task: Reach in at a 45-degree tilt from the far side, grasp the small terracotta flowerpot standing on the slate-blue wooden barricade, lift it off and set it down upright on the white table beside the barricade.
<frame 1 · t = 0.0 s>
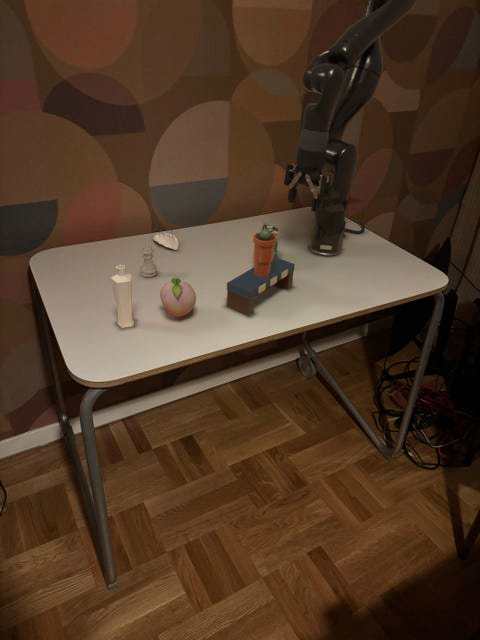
hand: (302, 206, 141), 17 cm above the table, tool pointing down, fingers open, 8 cm apart
rook chess piece: (149, 274, 140), on the table
barricade: (260, 296, 132), on the table
pot: (262, 273, 128), point 7 cm above the table, touching barricade
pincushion: (166, 244, 156), on the table
decorative fruit: (179, 315, 123), on the table
perfume bottle: (125, 324, 119), on the table
wedge shaped tart: (268, 262, 149), on the table
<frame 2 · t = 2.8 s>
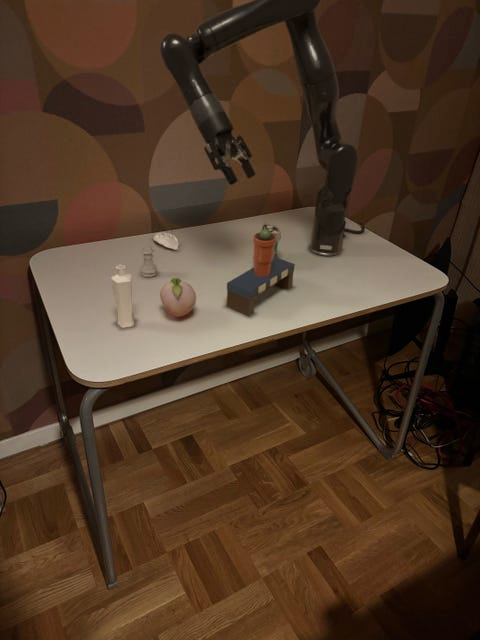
hand: (243, 179, 122), 29 cm above the table, tool tilted 40°, fingers open, 8 cm apart
nothing on the table moved.
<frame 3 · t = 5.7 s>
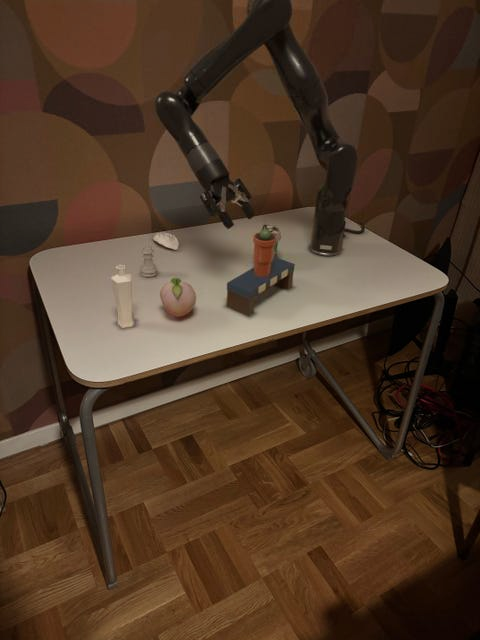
hand: (241, 222, 125), 19 cm above the table, tool tilted 45°, fingers open, 8 cm apart
nothing on the table moved.
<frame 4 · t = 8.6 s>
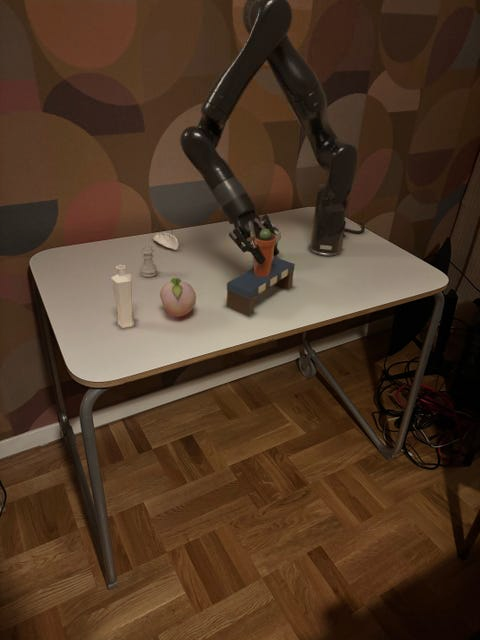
hand: (269, 258, 125), 12 cm above the table, tool tilted 45°, fingers closed on pot, 5 cm apart
pot: (262, 273, 128), point 7 cm above the table, touching barricade, gripper
everything else where it was.
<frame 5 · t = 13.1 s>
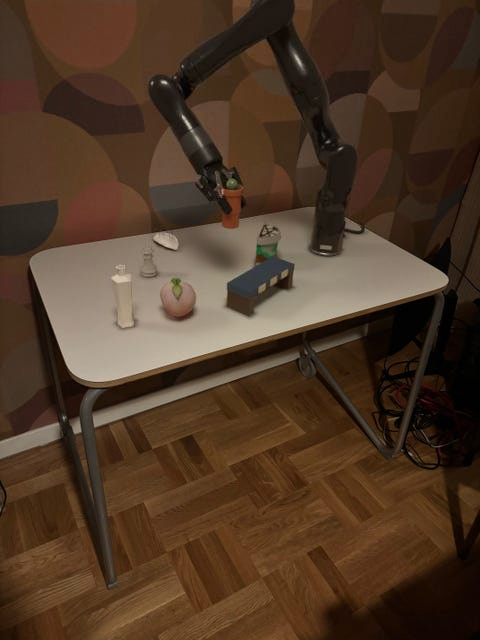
hand: (236, 209, 125), 22 cm above the table, tool tilted 45°, fingers closed on pot, 5 cm apart
pot: (230, 225, 128), point 17 cm above the table, touching gripper
everything else where it was.
when the fingers open (5 cm above the table, at t = 17.9 s): pot stays where it is, on the table.
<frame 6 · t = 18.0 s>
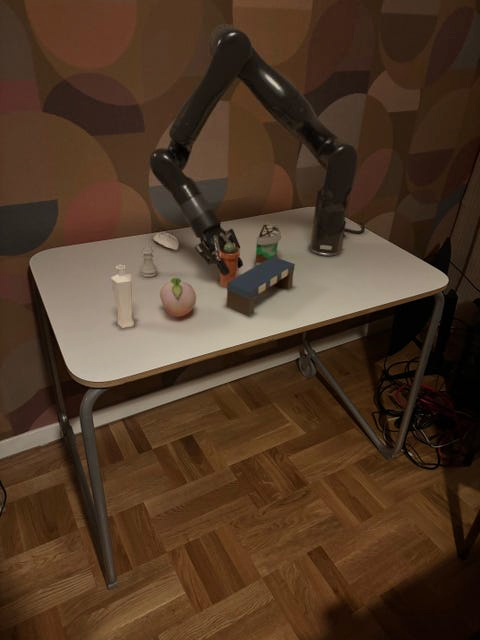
hand: (233, 270, 134), 5 cm above the table, tool tilted 45°, fingers open, 5 cm apart
pot: (227, 283, 137), on the table
everything else where it was.
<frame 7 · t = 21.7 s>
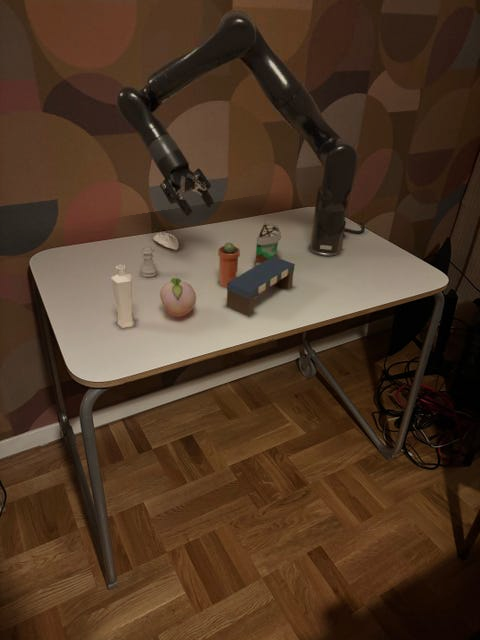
hand: (200, 209, 133), 18 cm above the table, tool tilted 45°, fingers open, 8 cm apart
nothing on the table moved.
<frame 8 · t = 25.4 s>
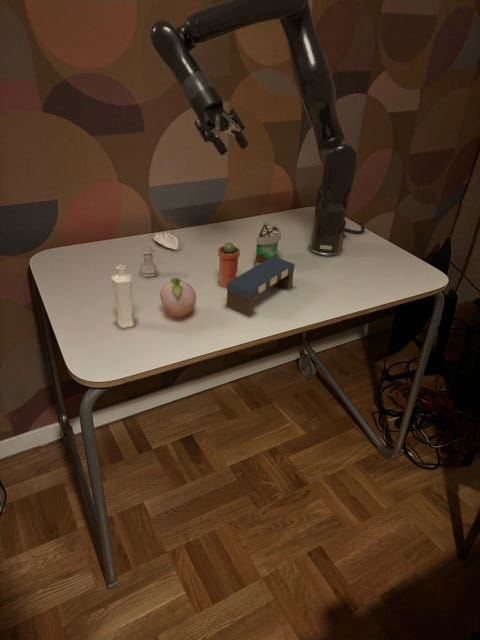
hand: (235, 150, 129), 33 cm above the table, tool tilted 45°, fingers open, 8 cm apart
nothing on the table moved.
at the end: pot inside the target area (0.1 cm from its centre), on the table; pot touching table; pot tilted 0° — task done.
